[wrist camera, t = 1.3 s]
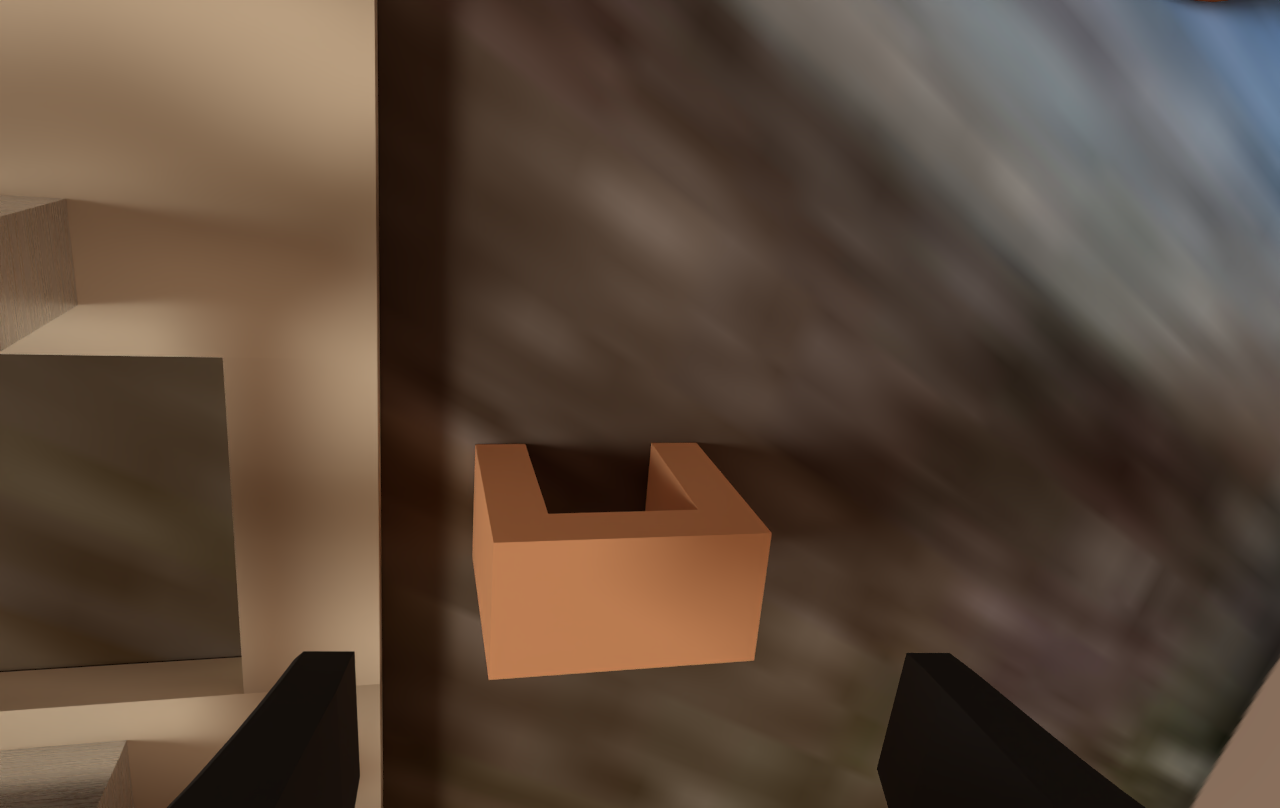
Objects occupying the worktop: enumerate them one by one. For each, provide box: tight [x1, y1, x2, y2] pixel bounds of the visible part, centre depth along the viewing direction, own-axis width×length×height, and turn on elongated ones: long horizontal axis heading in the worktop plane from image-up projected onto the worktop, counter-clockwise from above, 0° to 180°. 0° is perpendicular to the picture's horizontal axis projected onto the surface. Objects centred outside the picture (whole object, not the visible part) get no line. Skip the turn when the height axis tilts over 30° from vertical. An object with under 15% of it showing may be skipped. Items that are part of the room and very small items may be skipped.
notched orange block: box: [472, 443, 772, 680], centre depth 20 cm, size 3×6×5 cm, turn 85°
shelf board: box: [0, 0, 383, 808], centre depth 19 cm, size 24×14×2 cm, turn 175°
